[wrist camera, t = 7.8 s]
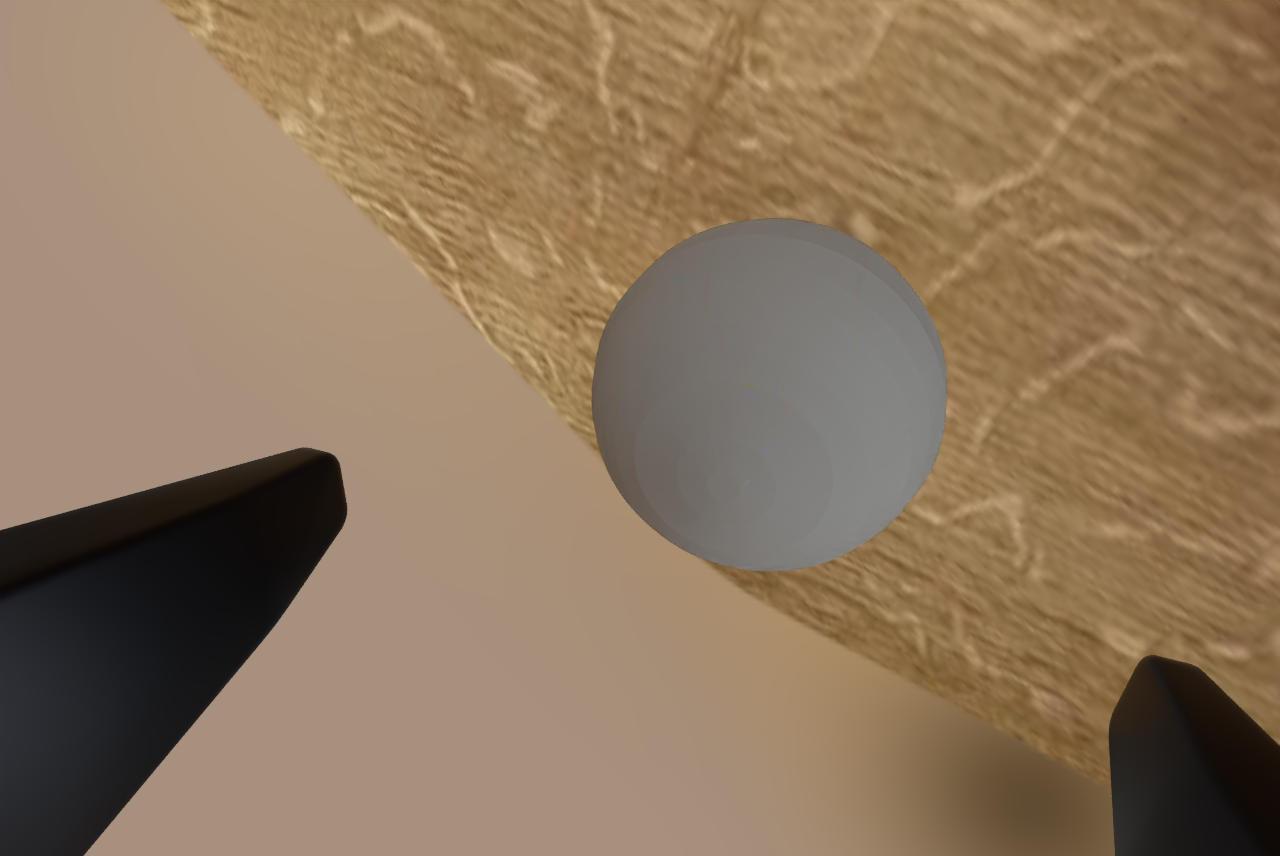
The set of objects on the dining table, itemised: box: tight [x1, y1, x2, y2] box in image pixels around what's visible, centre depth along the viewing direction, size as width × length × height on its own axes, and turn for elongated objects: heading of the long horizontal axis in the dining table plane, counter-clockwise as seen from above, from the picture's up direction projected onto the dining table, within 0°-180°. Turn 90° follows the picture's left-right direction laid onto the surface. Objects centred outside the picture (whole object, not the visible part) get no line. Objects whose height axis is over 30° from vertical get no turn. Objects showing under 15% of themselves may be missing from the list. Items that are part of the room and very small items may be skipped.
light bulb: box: [592, 218, 947, 571], centre depth 14 cm, size 6×5×10 cm
